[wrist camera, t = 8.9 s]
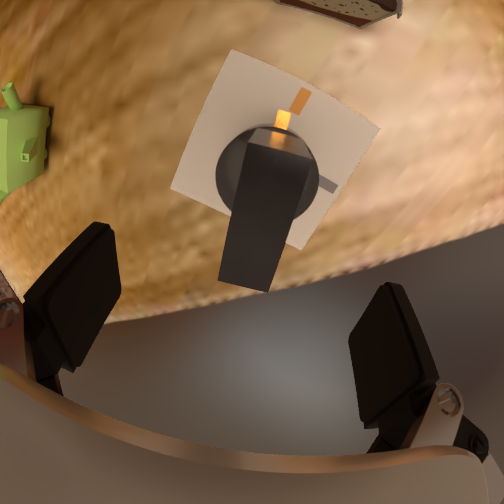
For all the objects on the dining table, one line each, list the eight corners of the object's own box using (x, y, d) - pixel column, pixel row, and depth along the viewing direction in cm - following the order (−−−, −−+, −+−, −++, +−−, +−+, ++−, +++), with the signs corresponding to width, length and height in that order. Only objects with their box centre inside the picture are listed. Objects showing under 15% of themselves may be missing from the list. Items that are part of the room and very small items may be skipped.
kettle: (33, 191, 35) (-10, 221, 25) (4, 132, 29) (-41, 152, 19) (76, 141, 30) (20, 166, 21) (43, 74, 24) (-13, 83, 14)
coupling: (298, 217, 26) (308, 301, 16) (217, 196, 25) (176, 269, 16) (329, 123, 21) (372, 148, 11) (237, 99, 20) (199, 101, 11)
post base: (174, 184, 33) (151, 206, 27) (233, 51, 23) (220, 39, 18) (300, 244, 36) (303, 276, 30) (376, 126, 26) (399, 136, 20)
